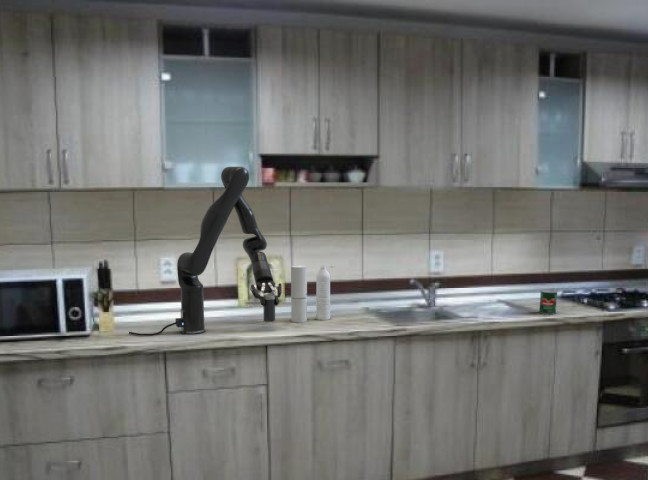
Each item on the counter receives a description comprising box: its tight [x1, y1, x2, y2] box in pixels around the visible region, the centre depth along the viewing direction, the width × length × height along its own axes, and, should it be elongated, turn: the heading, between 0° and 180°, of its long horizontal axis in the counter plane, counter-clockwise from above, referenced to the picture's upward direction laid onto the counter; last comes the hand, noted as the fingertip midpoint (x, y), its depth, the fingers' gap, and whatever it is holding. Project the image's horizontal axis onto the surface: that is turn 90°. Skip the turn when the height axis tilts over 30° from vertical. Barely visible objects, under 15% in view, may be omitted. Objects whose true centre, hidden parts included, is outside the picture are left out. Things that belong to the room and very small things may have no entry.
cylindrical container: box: [290, 265, 308, 323], centre depth 282 cm, size 7×7×25 cm
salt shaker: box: [262, 293, 276, 323], centre depth 263 cm, size 5×5×11 cm
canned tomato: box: [538, 289, 558, 315], centre depth 306 cm, size 8×8×11 cm
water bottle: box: [315, 264, 335, 321], centre depth 287 cm, size 9×6×25 cm
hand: (270, 304), depth 261 cm, fingers closed on salt shaker, 5 cm apart
